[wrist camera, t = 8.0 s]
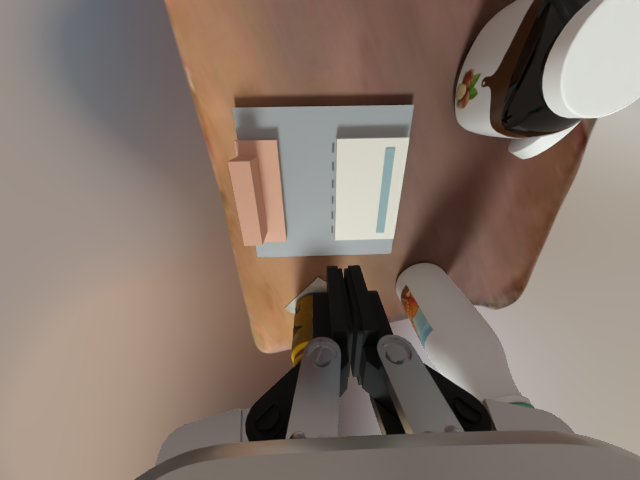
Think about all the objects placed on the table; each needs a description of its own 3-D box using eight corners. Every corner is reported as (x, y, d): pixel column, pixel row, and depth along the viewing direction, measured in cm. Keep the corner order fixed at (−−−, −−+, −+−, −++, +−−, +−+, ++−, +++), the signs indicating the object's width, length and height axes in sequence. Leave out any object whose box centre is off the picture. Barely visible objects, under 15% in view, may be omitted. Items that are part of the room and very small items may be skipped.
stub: (236, 140, 24) (222, 144, 20) (277, 139, 24) (271, 143, 21) (253, 239, 30) (244, 257, 26) (286, 238, 30) (283, 255, 26)
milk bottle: (407, 256, 34) (512, 409, 16) (453, 266, 35) (598, 419, 17) (386, 295, 37) (454, 456, 20) (429, 303, 38) (529, 462, 21)
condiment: (284, 307, 38) (274, 381, 27) (318, 276, 35) (321, 345, 24) (317, 327, 40) (319, 402, 30) (351, 299, 37) (367, 371, 27)
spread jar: (471, 11, 21) (623, -90, 11) (585, 23, 22) (829, -61, 11) (432, 149, 27) (508, 170, 16) (523, 156, 27) (651, 179, 17)
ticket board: (235, 107, 24) (228, 107, 22) (410, 105, 24) (419, 104, 22) (259, 253, 33) (255, 262, 30) (388, 249, 33) (393, 258, 31)
